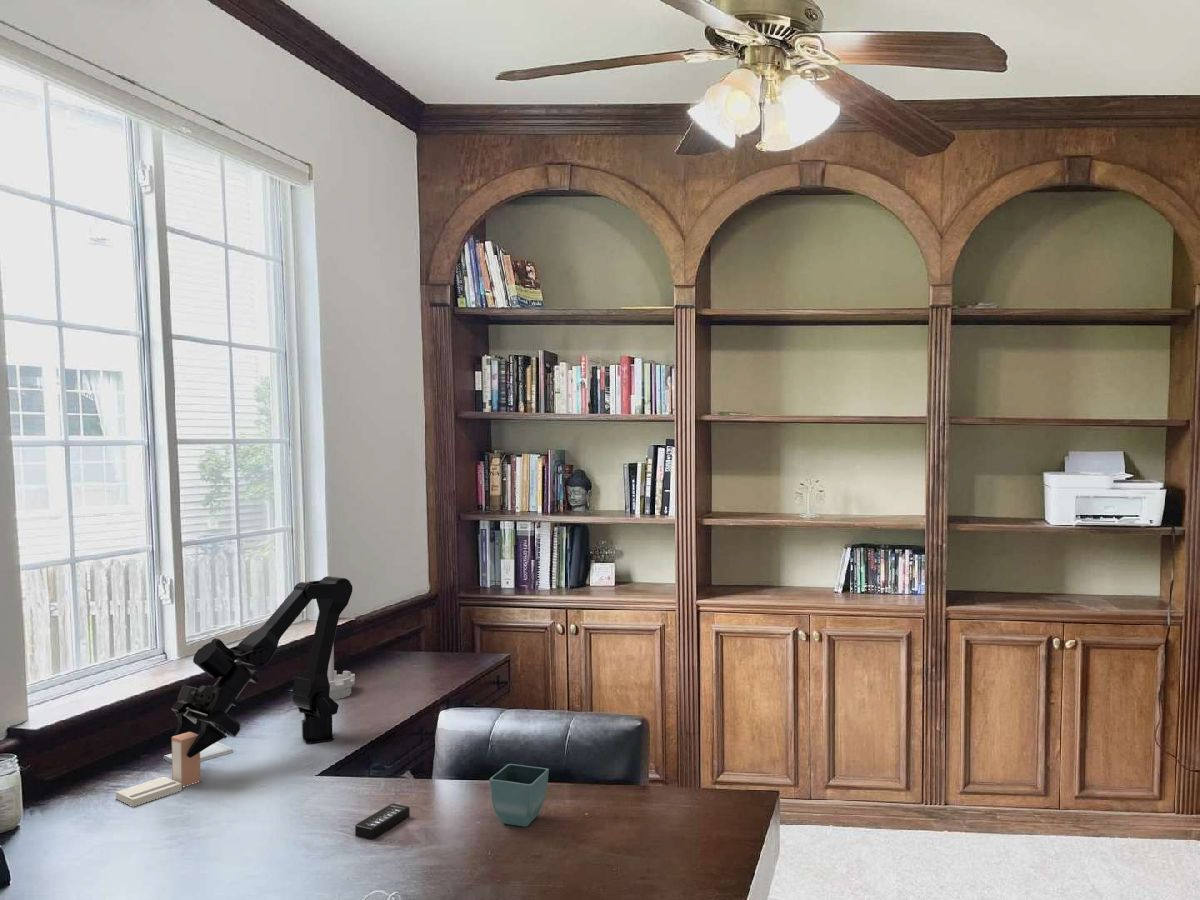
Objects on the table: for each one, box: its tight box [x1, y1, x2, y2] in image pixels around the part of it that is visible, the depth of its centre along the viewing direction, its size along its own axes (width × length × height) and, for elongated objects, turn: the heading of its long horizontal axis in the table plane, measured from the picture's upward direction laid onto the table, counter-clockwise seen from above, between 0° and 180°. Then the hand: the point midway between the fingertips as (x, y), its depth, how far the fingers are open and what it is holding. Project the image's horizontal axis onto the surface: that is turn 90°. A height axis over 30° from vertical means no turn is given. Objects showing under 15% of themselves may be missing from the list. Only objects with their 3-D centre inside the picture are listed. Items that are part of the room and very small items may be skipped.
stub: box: [171, 732, 202, 788], centre depth 189 cm, size 4×4×10 cm
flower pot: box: [489, 763, 550, 827], centre depth 168 cm, size 9×9×9 cm
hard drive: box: [163, 741, 234, 764], centre depth 205 cm, size 2×8×12 cm
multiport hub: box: [354, 803, 411, 841], centre depth 167 cm, size 4×11×2 cm, turn 155°
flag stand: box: [327, 642, 356, 701], centre depth 254 cm, size 13×13×30 cm
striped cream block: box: [115, 776, 184, 808], centre depth 183 cm, size 11×7×2 cm, turn 144°
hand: (179, 753), depth 188 cm, fingers open, 6 cm apart
